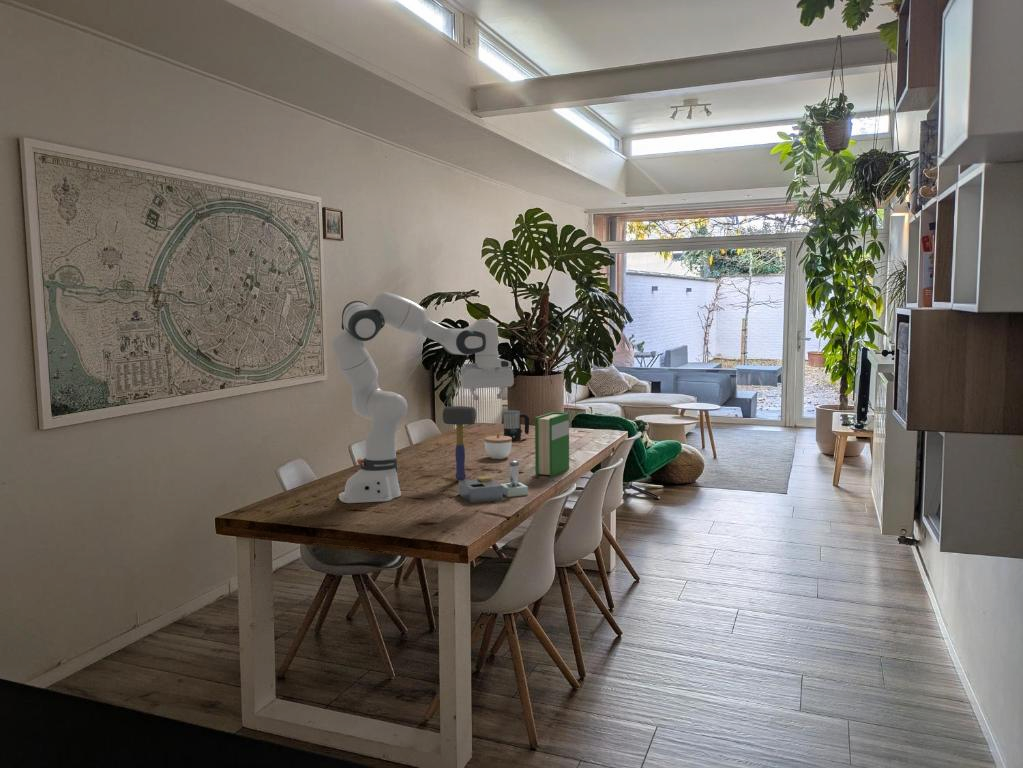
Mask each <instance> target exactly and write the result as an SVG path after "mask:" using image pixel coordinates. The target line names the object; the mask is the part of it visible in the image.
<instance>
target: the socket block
mask: <svg viewBox="0 0 1023 768" xmlns="http://www.w3.org/2000/svg"><path fill="white" fill-rule="evenodd" d="M500 484H501V483H499V482H498V481H495V480H494V479H492V481H488V482H480V481H478V479H477V478H475V479H464V480H462V481H458V492H459V493H458V495H460V496H461V497H462V498H463V499H465V500H467V502H469V503H470V504H471V503H472V504H474V503H484V502H491V501H501V500H504V498H503V497H504V494H503V486H502V485H500Z"/></svg>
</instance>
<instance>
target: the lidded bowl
mask: <svg viewBox="0 0 1023 768" xmlns="http://www.w3.org/2000/svg"><path fill="white" fill-rule="evenodd" d="M512 443H513V441H512V438H511V437H509V436H504V435H500V433H496V435H490V436H486V437H484V448H485V452H486V454H487V455H488V457H490V459H492V460H493V459H495V460H503V459H506V458H507V457H508V455H509V454H510V453H511V449H512V445H513V444H512Z"/></svg>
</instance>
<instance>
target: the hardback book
mask: <svg viewBox="0 0 1023 768" xmlns="http://www.w3.org/2000/svg"><path fill="white" fill-rule="evenodd" d="M534 434H535V435H534V436H535V437H534V438H535V439H534V444H535V445H534V446H535V447H534V449H535V450H534V451H535V453H534V456H535V457H534V458H535V464H534V466H535V476H536V475H538V476H540V475H547V476H549V478H553V477H555V475H556V476H558V475H559V473H560V474H562V473H564V472H566V471H568V470H569V469H570V413H569V412H562V411H561V412H559V411H557V412H556V411H552V412H549V413H548V412H547V413H546V414H542V415H539V416H535V417H534ZM567 469H568V470H567ZM565 470H566V471H565ZM563 471H564V472H563ZM561 472H562V473H561ZM539 474H540V475H539ZM557 474H558V475H557Z"/></svg>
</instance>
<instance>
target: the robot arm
mask: <svg viewBox="0 0 1023 768" xmlns="http://www.w3.org/2000/svg"><path fill="white" fill-rule="evenodd" d="M341 314H342V315H341V330H343V331H342V332H341V333H339V334H337V335H336V336H335V337H334V338H333V340H332V343H331V347H332V350H333V354H334V356H335V358H336V361H337V363H338V365H339V367H340V369H341V371H342V372H343V374H344V376H345V378H346V380H347V382H348V384H349V386H350V388H351V392H352V400H351V408H352V411H353V412H354V413H355V415H358V416H359V417H361V418H363V419H366V420H371V423H372V424H371V428H370V431H369V432H368V433H367V434H366V436H365V437H364V453H365V455H364V458H363V459H362V458H358V459H357V461H356V462H357V464H358V465H359V468H360V469H359V470H357V471H356V472H354V474H352V475H351V476H350V477H348V478H347V480H346V483H345V487H344V492H340V493H339V494H338V499H339V501H340V502H342V503H346V504H355V503H356V504H357V503H358V504H359V503H360V504H361V503H376V502H377V503H378V502H388V501H391V500H393V499H396V498H399V497H401V495H402V491H401V489H400V485H399V479H398V478H399V477H398V469H399V468H398V467H399V464H398V462H399V461H398V457H397V454H396V453H397V452H396V451H397V448H396V445H397V440H396V439H397V433H398V428H399V425H400V422H401V421H402V420H403V419H404V418H405V417H406V415H407V412H408V407H409V406H408V402H407V400H406V398H405V397H404V396H403V395H401V394H398V393H397V392H394V391H389V390H388V391H386V390H382V389H381V388H380V386H379V383H378V377H379V370H378V368H377V365H376V364H375V362H374V360H373V359H372V356H371V355H370V352H369V351H368V350H367V349H368V348H367V347H366V345H365V342H368V341H371V340H373V339H374V338H375V337H376V336H377V335H378V333H379V332H380V331H381V329H383V328H384V327H385V324H386V325H389V326H391V327H394V328H396V329H398V330H400V331H402V332H405V333H410V334H418V335H421V336H423V337H426V338H427V339H430V340H431V341H434V342H436V343H438V344H439V345H440V346H441V347H442V348H443V349H444V350H445V351H446V352H447V353H449V354H450V355H461V356H470V355H473V354H474V358H475V359H474V362H473V363H472V362H471V363H463V364H462V365H461V367H460V386H461V388H462V389H465V390H467V389H469V392H470V393H471V395H472V400H473V401H479V395H477V394H476V389H483V388H499V390H500V391H498V393H497V394H496V399H497V400H502V399H503V394H504V392H505V388H506V387H512V386H513V385H514V384H515V380H514V379H515V378H514V372H513V371H514V370H513V369H512V362H511V361H509V360H506V359H503V358H500V356H499V355H500V354H499V351H498V350H499V349H498V346H499V344H500V343H499V329H498V325H497V322H495V321H493V320H489V319H485V318H484V319H483V318H482V319H481V318H479V319H477V320H475V322H473V323H472V324H470V325H469V326H466V327H464V328H458V327H445V326H443V325H441V324H439V323H437V322H435V321H433V320H431V319H430V318H429V317H428V315H427V311H426V310H425V308H424V307H422V306H421V305H419V304H418V303H416V302H414V301H413V300H411V299H409V298H406V297H404V296H401V295H398V294H395V293H391V292H387V291H382V292H380V293H378V295H377V296H375V297H374V299H373V301H372V303H371V304H368V303H366V302H363V301H360V300H354V301H353V300H352V301H350V302H348V303H347V304H346V305H345V306H344V308H343V310H342V313H341Z"/></svg>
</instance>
